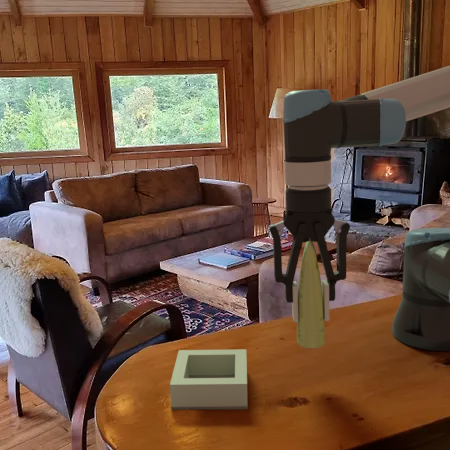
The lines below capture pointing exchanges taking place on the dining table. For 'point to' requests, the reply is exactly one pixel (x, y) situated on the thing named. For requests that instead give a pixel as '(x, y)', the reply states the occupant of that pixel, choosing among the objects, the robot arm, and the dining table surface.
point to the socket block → (209, 380)
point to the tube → (310, 301)
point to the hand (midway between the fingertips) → (310, 318)
